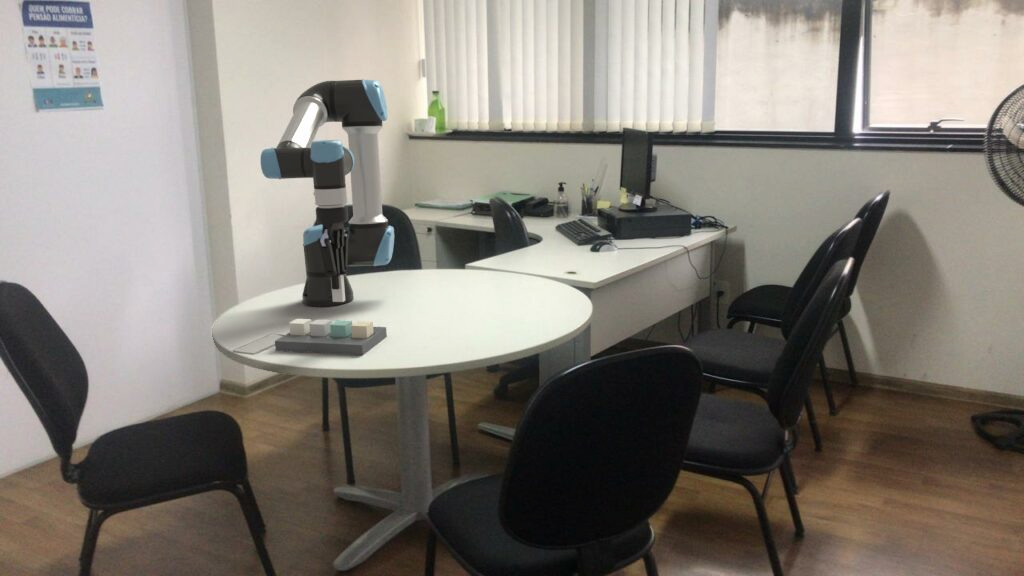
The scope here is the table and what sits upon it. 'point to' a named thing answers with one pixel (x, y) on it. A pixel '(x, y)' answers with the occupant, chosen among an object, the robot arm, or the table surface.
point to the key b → (320, 328)
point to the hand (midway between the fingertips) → (339, 301)
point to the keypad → (330, 343)
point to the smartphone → (259, 344)
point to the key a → (299, 327)
